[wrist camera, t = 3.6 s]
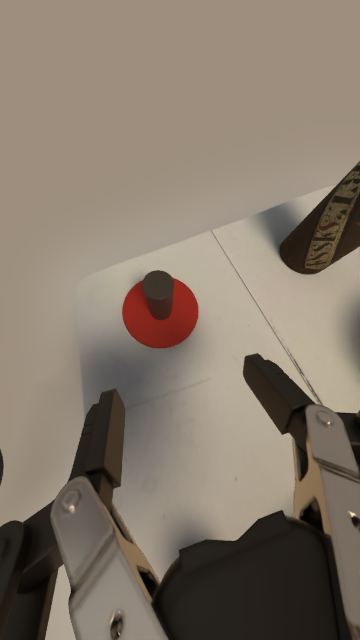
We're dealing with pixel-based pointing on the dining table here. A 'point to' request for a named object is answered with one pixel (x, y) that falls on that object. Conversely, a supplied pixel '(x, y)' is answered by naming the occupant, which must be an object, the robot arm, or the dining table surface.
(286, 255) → the container
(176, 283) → the lid
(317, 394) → the dining table surface
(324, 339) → the dining table surface
